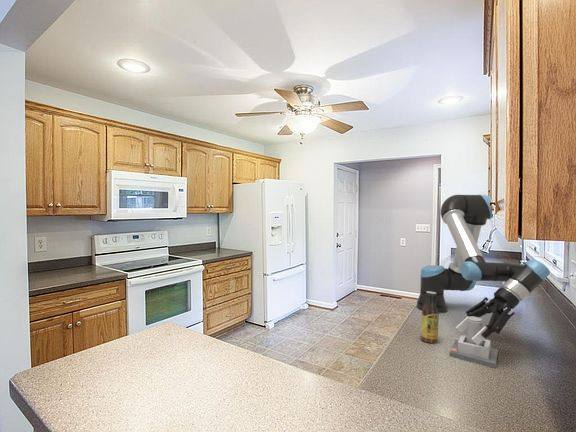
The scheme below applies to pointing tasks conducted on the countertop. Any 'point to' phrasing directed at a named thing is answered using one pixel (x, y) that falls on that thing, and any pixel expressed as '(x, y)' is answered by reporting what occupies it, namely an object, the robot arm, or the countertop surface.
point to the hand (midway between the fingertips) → (466, 335)
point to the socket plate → (474, 352)
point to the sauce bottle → (430, 319)
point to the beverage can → (473, 328)
